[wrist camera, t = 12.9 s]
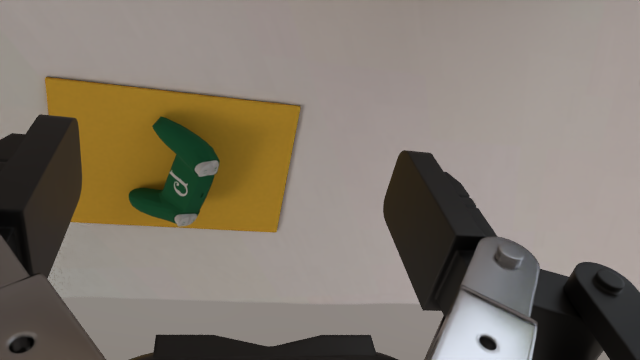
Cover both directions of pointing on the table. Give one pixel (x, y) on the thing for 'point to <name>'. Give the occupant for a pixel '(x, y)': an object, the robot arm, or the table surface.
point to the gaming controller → (179, 177)
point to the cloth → (157, 158)
